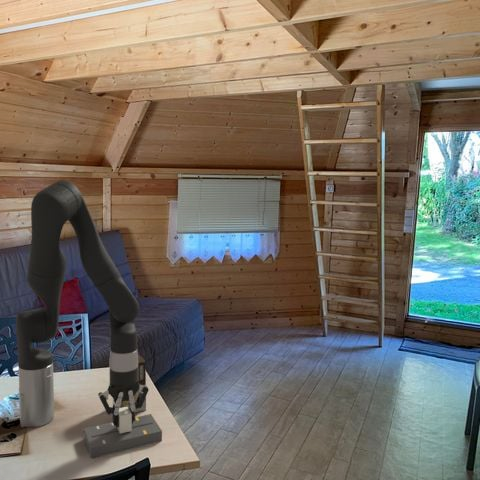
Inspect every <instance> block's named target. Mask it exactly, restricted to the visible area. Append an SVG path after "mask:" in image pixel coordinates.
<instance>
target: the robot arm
mask: <svg viewBox="0 0 480 480" xmlns="http://www.w3.org/2000/svg"><path fill="white" fill-rule="evenodd" d="M30 205H31V207H30V209H31V210H30V220H31V223H30V224H31V241H30V252H29V259H28V267H27V276H26V278H27V279H26V280H27V283H28V285H29V287H30V289H31V290H32V291H33V292H34V294H35V295H36V296H37V297H38V298H39V299H40V300H41V301H42V303H43V304H44V306H45V307H44V308H39V309H38V308H37V309H32V310H31V309H30V310H23V311H19V312H18V313H17V315H16V316H15V332H16V342H17V343H16V344H17V361H18V362H17V363H18V365H17V366H18V403H19V404H18V407H19V422H20V423H19V424H20V427H21V428H25V427H26V428H27V427H28V428H37V427H41V426H44V425H48V424H49V423H51V422H52V421H53V420H54V418H55V396H54V394H55V392H54V391H55V389H54V355H53V353H52V351H50V350H48V349H46V348H38V347H35V346H32V345H31V344H33V343H34V344H35V343H41V342H45V341H50V340H52V339H54V338H55V337H56V336H57V333H58V328H59V321H60V320H59V318H60V305H61V296H62V290H63V286H64V281H65V277H66V269H67V257H66V255H65V253H64V251H63V249H62V248H61V246H60V241H61V234H62V231H63V228H64V225H65V224H66V223H67V222H69V223H70V225H71V227H72V229H73V230H74V234H75V236H76V239H77V243H78V249H79V256H80V260H81V264H82V267H83V269H84V271H85V273H86V275H87V276H88V278H89V279H90V281H91V283H92V284H93V285H94V287H95V288H96V290H97V291H98V292H99V294H100V295H101V296H102V298H103V301H105V304H106V305H107V307H108V313H109V314H108V315H109V324H110V351H109V353H110V354H109V360H108V362H109V363H108V366H109V386H108V387H107V390H106V391H104V392H101V391H100V392H99V393H98V394H97V395H98V398H99V399H100V402H101V403H102V406H103V408H104V409H105V412H106V414H107V415H111V416H112V417H111V418H112V420H111V421H112V422H113V424H114V426H116V427H119V414H118V413H119V408H120V406H121V402H123V401H128V403H129V410H130V412H131V414H132V424H133V422H134V421H135V417H136V412H135V410H136V409H137V408H141V407H142V405H143V403H144V400H145V398H146V399H147V395H148V392H149V390H150V389H149V387H148V385H147V384H146V385H145V384H144V385H139V383H138V355H139V352H138V331H137V328H136V319H137V317H138V315H139V313H140V304H139V302H138V300H137V298H136V297H135V295H134V294H133V293H132V291H131V290H130V289H129V287H128V286H127V284H126V282H125V281H124V279H123V277H122V275H121V273H120V271H119V269H118V268H117V266H116V265H115V263H114V261H113V260H112V258H111V257H110V255H109V253H108V252H107V250H106V249H107V248H106V247H105V246H104V243H103V242H102V240H101V237H100V235H99V232H98V229H97V227H96V225H95V222H94V219H93V218H92V215H91V213H90V210H89V208H88V206H87V204H86V200H85V198H84V197H83V194H82V192H81V191H80V190H79V189H78V187H77V186H76V184H74V183H72V182H71V181H68V180H64V179H63V180H62V179H61V180H58V181H54V182H53V183H52V184H50V185H48V186H47V187H45V188H43V189H41V190H40V191H39V192H37V193H36V194H35V196H33V197H32V201H31V204H30ZM138 389H139V395H138V397H137V400H136V402H134V395H135V394H136V392H137V391H138ZM109 395H110V396H111V398H112V406H111V407H110V405H109V403H108V400H109ZM113 398H114V399H113ZM112 422H111V423H112Z"/></svg>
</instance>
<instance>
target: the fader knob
mask: <svg viewBox="0 0 480 480" xmlns="http://www.w3.org/2000/svg"><path fill="white" fill-rule="evenodd" d="M118 414H119V427H117V429H118V431H119V433H120V434H121V433H125V432H129V431H132V414H131V412H130V410H129V408H128V407H123V408H119V413H118Z"/></svg>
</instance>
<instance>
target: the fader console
mask: <svg viewBox="0 0 480 480" xmlns="http://www.w3.org/2000/svg"><path fill="white" fill-rule="evenodd" d="M83 437H84V438H83V439H84V442H85V445H86V448H87V450H88V454H89V457H90V459H92V460H93V459H94V458H95V459H96V458H99V457H103V456H107V455H111V454H115V453H118V452H119V453H120V452H123V451H127V450H132V449H136V448H139V447H142V446H147V445H151V444H155V443H160V442H163V431H162V429H161V427H160V425H159V424H158V423H157V421H156V419H155V418H154V416H153V415H152V413H149V414H145V415H139V416H135V421H134V422H133V424H132V431H129V432H125V433H121V434H120V433H119V431H118V429H117V427H116V426H114V424H113V422H109V423H104V424H99V425H95V426H94V425H93V426H90V427H89V426H88V427H85V428H84V429H83Z"/></svg>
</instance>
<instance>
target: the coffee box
mask: <svg viewBox="0 0 480 480" xmlns="http://www.w3.org/2000/svg"><path fill="white" fill-rule="evenodd" d="M146 374H147V367H146V361H145V359H144V357H142V355H140V354H138V383H139V385H144V384H145V385H146V386H147V379H146V377H147V375H146ZM138 395H139V389H138V391H137V392H136V394H135V395H134V402H136V400H137V397H138ZM113 399H114V398H113V397H112V400H113ZM123 407H128V408H129V403H128V401H123V402H121V406H120V408H123ZM146 410H147V397H146V398H145V400H144V403H143V405H142V407H141V408H137V409H136V410H135V413H137V412H143V411H146Z"/></svg>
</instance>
